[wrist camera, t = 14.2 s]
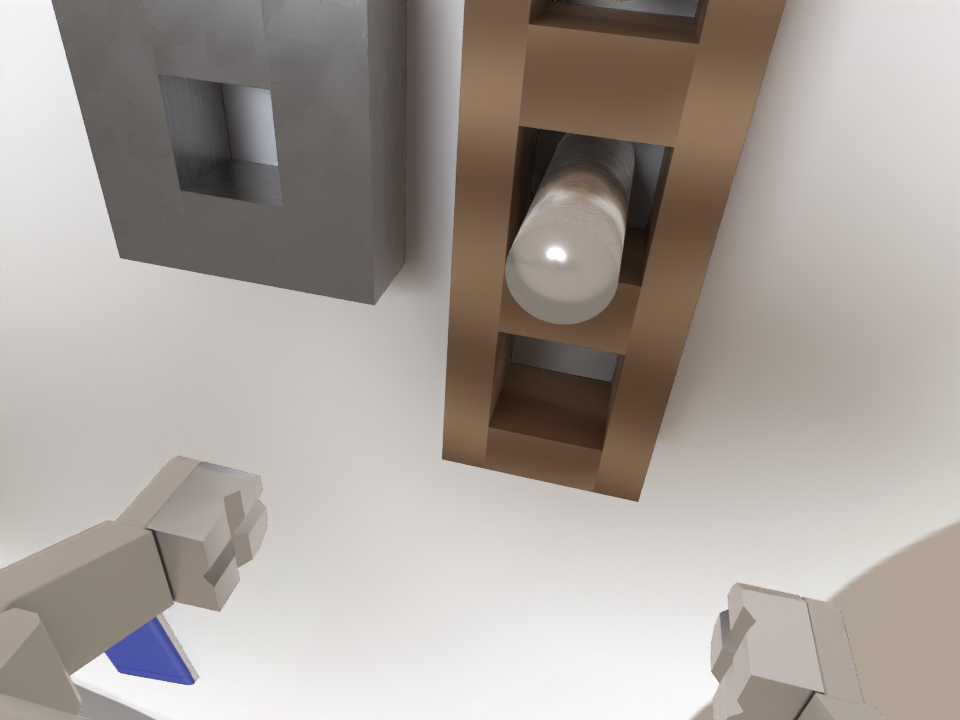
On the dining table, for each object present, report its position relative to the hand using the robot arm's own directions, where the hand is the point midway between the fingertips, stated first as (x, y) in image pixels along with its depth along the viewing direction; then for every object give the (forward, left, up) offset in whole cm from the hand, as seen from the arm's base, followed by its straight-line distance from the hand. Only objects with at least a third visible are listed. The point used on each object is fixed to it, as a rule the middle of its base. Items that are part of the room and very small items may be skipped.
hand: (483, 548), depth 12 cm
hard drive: (-45, +32, -21) cm, 59 cm away
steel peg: (0, 0, -20) cm, 20 cm away
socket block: (0, +14, -20) cm, 24 cm away
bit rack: (0, 0, -20) cm, 20 cm away
